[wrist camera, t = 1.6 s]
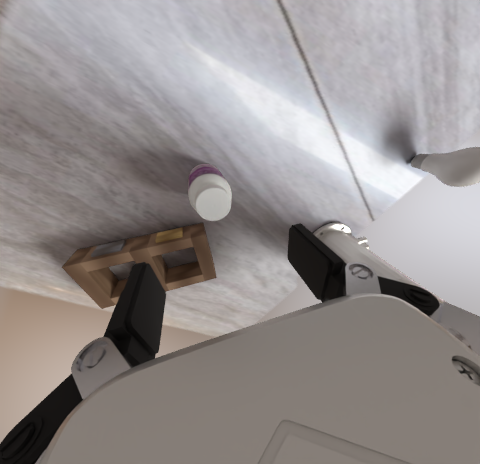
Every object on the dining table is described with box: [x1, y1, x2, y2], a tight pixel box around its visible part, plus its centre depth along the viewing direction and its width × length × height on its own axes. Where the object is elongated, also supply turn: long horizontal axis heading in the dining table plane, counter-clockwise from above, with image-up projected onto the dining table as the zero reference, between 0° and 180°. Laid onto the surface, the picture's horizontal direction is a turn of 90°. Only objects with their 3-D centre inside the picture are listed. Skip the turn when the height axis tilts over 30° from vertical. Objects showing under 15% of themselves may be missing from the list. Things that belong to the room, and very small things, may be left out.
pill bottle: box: [188, 164, 232, 221], centre depth 22 cm, size 5×5×10 cm
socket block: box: [62, 223, 216, 309], centre depth 29 cm, size 20×10×4 cm, turn 96°
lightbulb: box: [411, 147, 480, 187], centre depth 30 cm, size 6×6×11 cm
